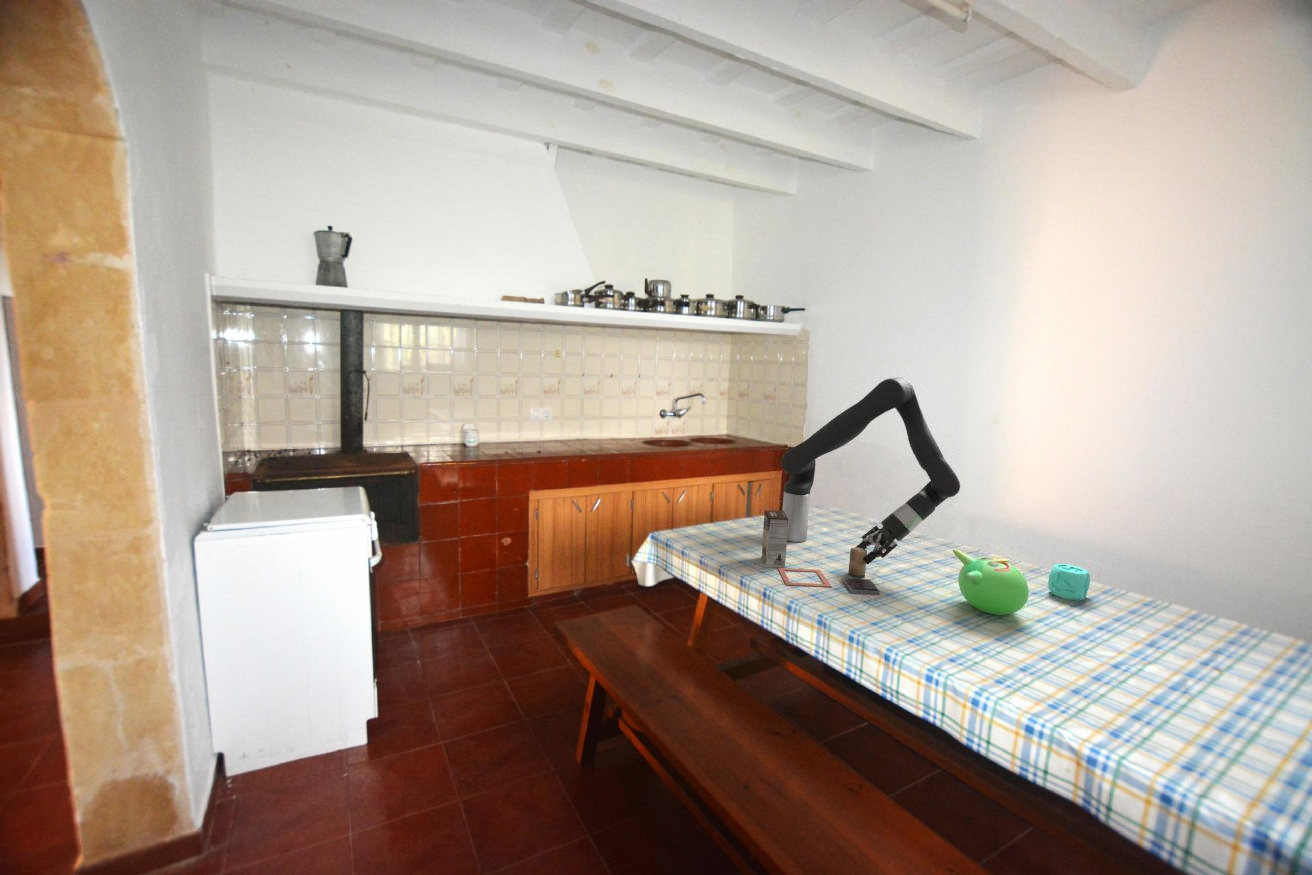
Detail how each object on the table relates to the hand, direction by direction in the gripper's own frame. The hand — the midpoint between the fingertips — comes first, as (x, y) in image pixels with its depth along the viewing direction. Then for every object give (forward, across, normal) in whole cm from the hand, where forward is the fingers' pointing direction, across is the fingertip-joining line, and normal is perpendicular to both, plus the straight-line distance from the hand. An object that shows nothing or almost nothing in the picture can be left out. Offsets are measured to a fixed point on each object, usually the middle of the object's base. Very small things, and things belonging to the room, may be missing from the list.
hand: (860, 556), depth 174 cm
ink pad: (+6, +10, +2) cm, 12 cm away
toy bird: (-15, +21, +24) cm, 35 cm away
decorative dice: (-36, +8, +45) cm, 58 cm away
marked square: (+17, +4, -8) cm, 19 cm away
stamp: (+4, 0, +4) cm, 6 cm away
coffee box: (+22, -8, -13) cm, 26 cm away
